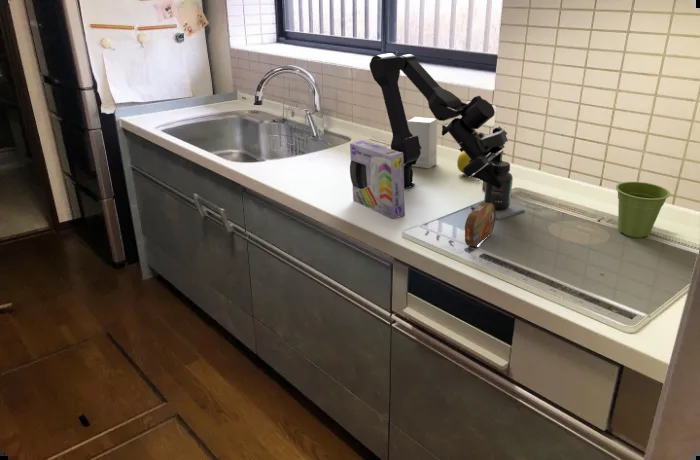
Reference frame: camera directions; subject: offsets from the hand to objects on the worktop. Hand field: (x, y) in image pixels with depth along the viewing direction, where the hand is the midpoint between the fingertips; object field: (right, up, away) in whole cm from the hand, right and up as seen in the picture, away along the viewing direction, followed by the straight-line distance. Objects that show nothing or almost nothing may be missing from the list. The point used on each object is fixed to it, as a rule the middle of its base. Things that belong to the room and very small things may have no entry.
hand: (504, 183), depth 156 cm
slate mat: (-1, -7, +4) cm, 8 cm away
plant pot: (+29, -13, -11) cm, 34 cm away
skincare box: (-17, +9, +41) cm, 45 cm away
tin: (-10, -15, -13) cm, 22 cm away
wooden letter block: (+2, -1, +18) cm, 18 cm away
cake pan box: (-34, -7, +7) cm, 35 cm away
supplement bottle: (-1, -6, +3) cm, 7 cm away
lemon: (-4, +5, +31) cm, 32 cm away
